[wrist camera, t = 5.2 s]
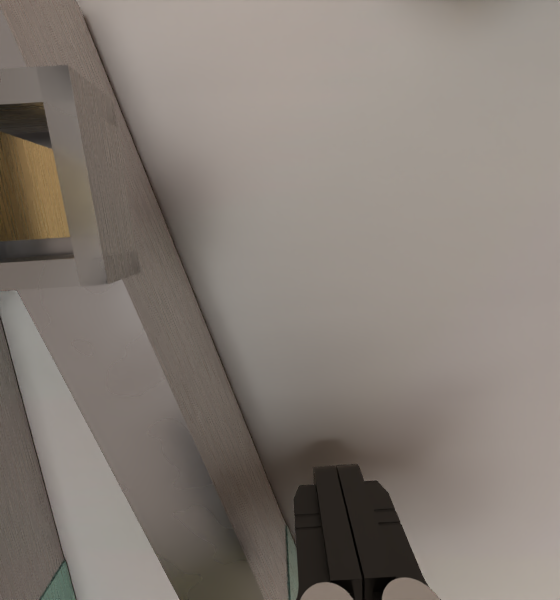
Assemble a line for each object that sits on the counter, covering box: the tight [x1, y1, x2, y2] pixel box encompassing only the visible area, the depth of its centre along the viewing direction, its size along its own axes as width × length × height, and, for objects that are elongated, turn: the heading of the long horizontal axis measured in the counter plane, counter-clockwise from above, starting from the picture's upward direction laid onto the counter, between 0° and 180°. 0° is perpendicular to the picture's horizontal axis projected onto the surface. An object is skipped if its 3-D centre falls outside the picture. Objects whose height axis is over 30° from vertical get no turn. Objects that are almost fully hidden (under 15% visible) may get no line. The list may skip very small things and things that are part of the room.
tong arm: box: [0, 0, 299, 600], centre depth 9 cm, size 2×24×4 cm, turn 19°
